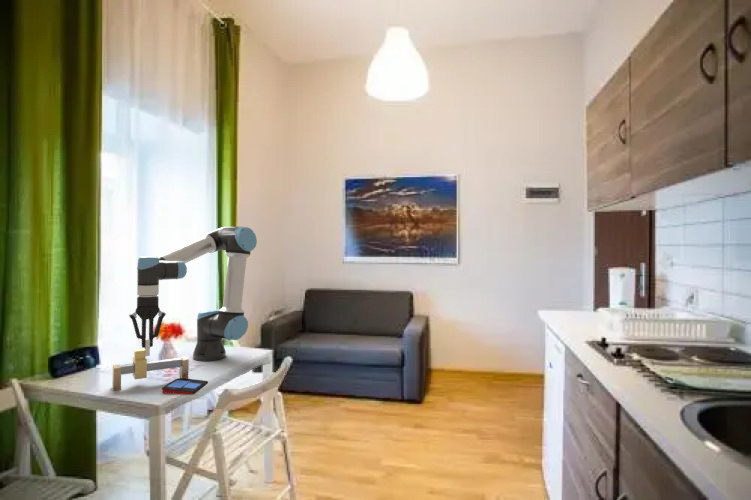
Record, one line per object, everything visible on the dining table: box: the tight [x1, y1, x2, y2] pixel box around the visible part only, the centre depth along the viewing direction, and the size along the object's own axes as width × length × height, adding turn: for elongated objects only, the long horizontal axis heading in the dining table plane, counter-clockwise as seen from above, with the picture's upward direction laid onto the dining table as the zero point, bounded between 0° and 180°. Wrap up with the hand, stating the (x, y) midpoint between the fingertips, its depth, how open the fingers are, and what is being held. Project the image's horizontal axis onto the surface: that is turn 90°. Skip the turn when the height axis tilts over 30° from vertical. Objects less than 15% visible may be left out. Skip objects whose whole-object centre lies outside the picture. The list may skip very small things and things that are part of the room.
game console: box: [161, 378, 209, 395], centre depth 170 cm, size 14×13×2 cm
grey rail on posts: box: [111, 356, 190, 392], centre depth 174 cm, size 26×5×9 cm, turn 125°
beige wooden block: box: [132, 348, 148, 380], centre depth 172 cm, size 4×7×10 cm, turn 35°
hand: (147, 355), depth 173 cm, fingers closed
